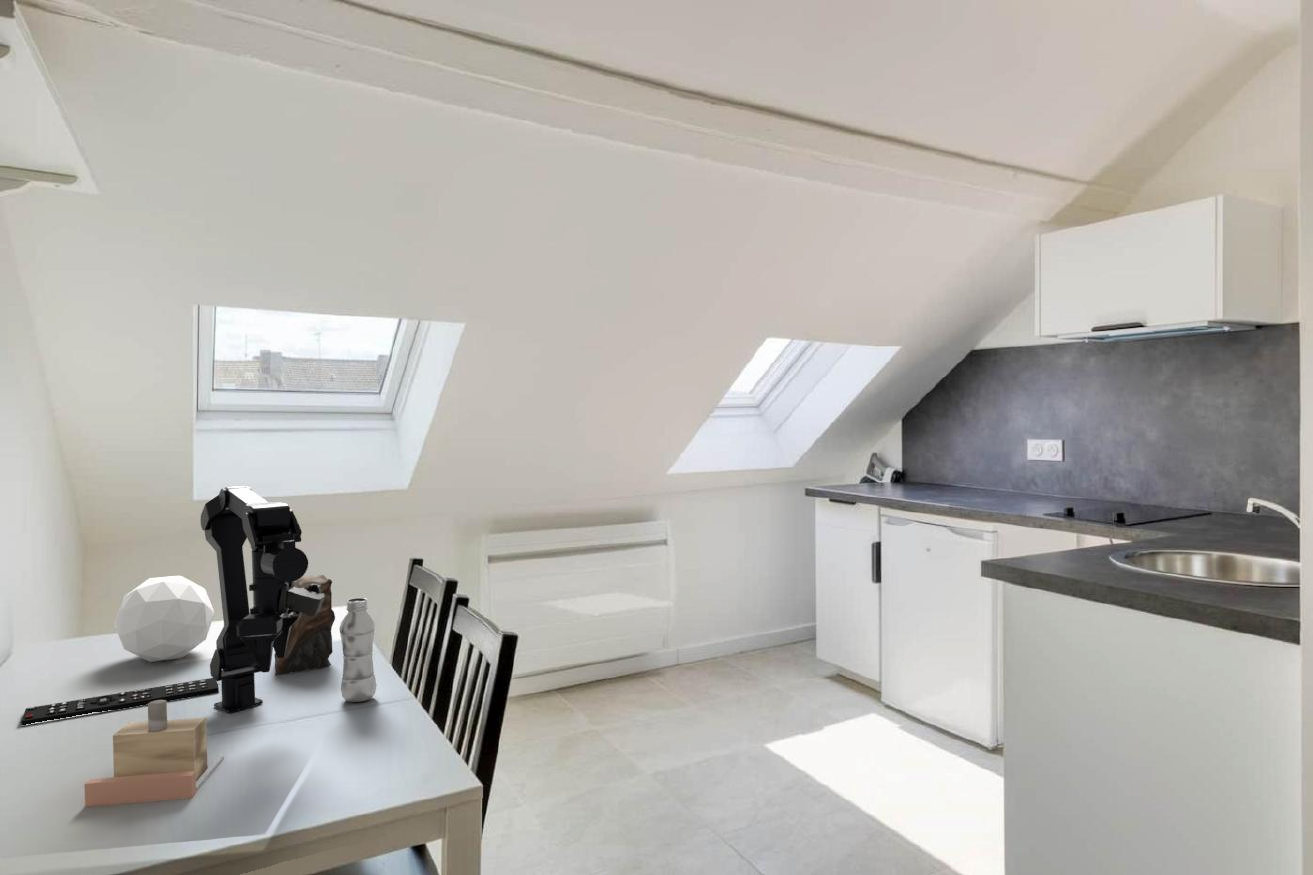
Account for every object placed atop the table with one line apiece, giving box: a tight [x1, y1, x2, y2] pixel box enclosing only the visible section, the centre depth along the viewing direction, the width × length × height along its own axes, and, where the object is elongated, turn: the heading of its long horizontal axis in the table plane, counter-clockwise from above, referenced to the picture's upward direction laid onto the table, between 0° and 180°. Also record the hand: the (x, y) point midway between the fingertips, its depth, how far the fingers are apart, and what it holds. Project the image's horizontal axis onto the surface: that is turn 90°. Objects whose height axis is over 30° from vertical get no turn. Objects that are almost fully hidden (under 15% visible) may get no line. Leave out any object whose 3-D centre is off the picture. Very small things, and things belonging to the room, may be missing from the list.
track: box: [84, 755, 225, 807], centre depth 120 cm, size 13×14×4 cm
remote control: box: [20, 677, 220, 726], centre depth 157 cm, size 8×32×2 cm, turn 123°
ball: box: [113, 575, 215, 663], centre depth 185 cm, size 19×20×20 cm
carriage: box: [112, 700, 208, 781], centre depth 121 cm, size 5×11×12 cm, turn 100°
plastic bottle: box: [339, 597, 377, 703], centre depth 157 cm, size 6×7×20 cm
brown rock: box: [274, 574, 336, 677], centre depth 180 cm, size 13×13×20 cm
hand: (273, 664), depth 139 cm, fingers open, 9 cm apart
